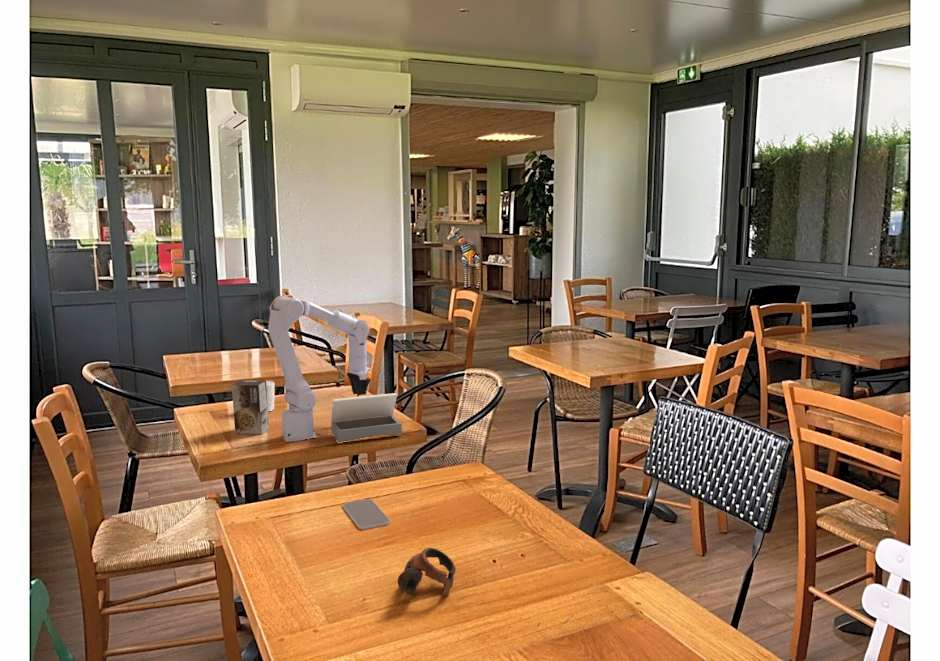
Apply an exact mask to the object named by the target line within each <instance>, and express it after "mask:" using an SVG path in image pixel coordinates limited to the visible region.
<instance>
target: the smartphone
mask: <svg viewBox="0 0 940 661" xmlns="http://www.w3.org/2000/svg"><path fill="white" fill-rule="evenodd" d="M342 508H343V510H344V511H345V512H346V514H347V515H348V516H349V517H350V520H352V522H353V523H354V524H355V526H356V527H357V529H359V530H360V531H361V530H362V531H364V530H371V529H374V528H379V527H385V526H388V525H390V524H391V519H390V518H389V516H387V515H386V514H385V512H384V511H383V510H382V509H381V507H379V505H377V504H376V502H375V501H374V500H373V499H370V498H367V499H360V500H355V501H349V502H345V503H343V504H342Z"/></svg>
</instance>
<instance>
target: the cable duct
mask: <svg viewBox="0 0 940 661" xmlns="http://www.w3.org/2000/svg"><path fill="white" fill-rule="evenodd" d="M402 424H403V423H402V422H401V421H399V419H397V418H396V417H395V416H394V414H393V415H390V416H381V417H372V418H363V419H354V420H345V421H336V422H331V421H330V426H331V427H330V428H331V435H332V434H333V435H334V437H335V439H336V440H337V441H338V442H342V441H343V442H344V441H349V440H350V441H351V440H355V439H360V438H365V437H373V436H379V435H380V436H381V435H402V436H403V430H402V429H403V428H402ZM334 437H333V438H334ZM335 439H334V440H335ZM336 440H335V441H336Z"/></svg>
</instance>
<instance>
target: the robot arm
mask: <svg viewBox="0 0 940 661" xmlns="http://www.w3.org/2000/svg"><path fill="white" fill-rule="evenodd" d="M268 308H269V320H268V327H267V330H268V334H269V336H270V340H271V342H272V346H273V349H274V350H275V351H274V352H275V353H276V356H277V359H278V361H279V365H280V366H279V367H280V369H281V371H282V374H283V376H284V380H285V384H284V385H283V386H284V387H283V388H284V391H285V393H284V400H285V401H286V403H287V404H288V409H287V410H283V411H281V423H282V430H281V432H282V433H281V434H282V437H283V439H284V442H286V443H289V442H297V441H306V440H305V439H307V440H311V439H310V438H316V437H317V438H318V436H317V434H316V433H315V431H314V430H315V429H314V428H315V427H314V407H315V405H316V404H317V395H316V393H315V392H314V391H312V389H311V387H310V385H309V383H308V382H307V380H306V379H305V378H304V376H303V372H302V370H301V366H300V364H299V361H298V358H297V355H296V352H295V348H294V345H293V343H292V340H291V337H290V334H289V330H290V329H291V327H292V326H293V325H294V324H295V323H296V322H297V321H298V320H299V319H300V318H301V317H302V316H303V317H305V316H308V315H310V316H312V317H314V318H318V319H320V320H323V321H326V322H327V325H328V327H330V328H332V329H334V330H337V331H339V332H341V333H344V334H346V335H347V336H348V363H349V364H348V366H349V369H348V372H347V373H346V376H347V377H348V379H349V382H350V387H351V391H352V393H353V395H356V397H359V395H365V394H367V391H368V387H369V385H370V383H371V378H370V377H367V373H368V372H371V370H372V369H371V367H368V361H367V360H368V358H367V356H368V350H367V349H368V347H367V345H368V344H367V341H368V336H369V334H370V330H371V328H370V327H369V324H368V323H367V321H365V320H362V319H357V316H356V315H349V314H348V313H345V310H342V309H334V310H333V311H330V310H328V309H326V308H323V307H321V306H319V305H317V304H315V303H313V302H310V301H307V300H303V299H299V298H296V297H288V296H285V295H278V296H277V297H275V298H274V299H273V301H272V302H271V304H270V305H269V307H268ZM317 438H316V439H317Z"/></svg>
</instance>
